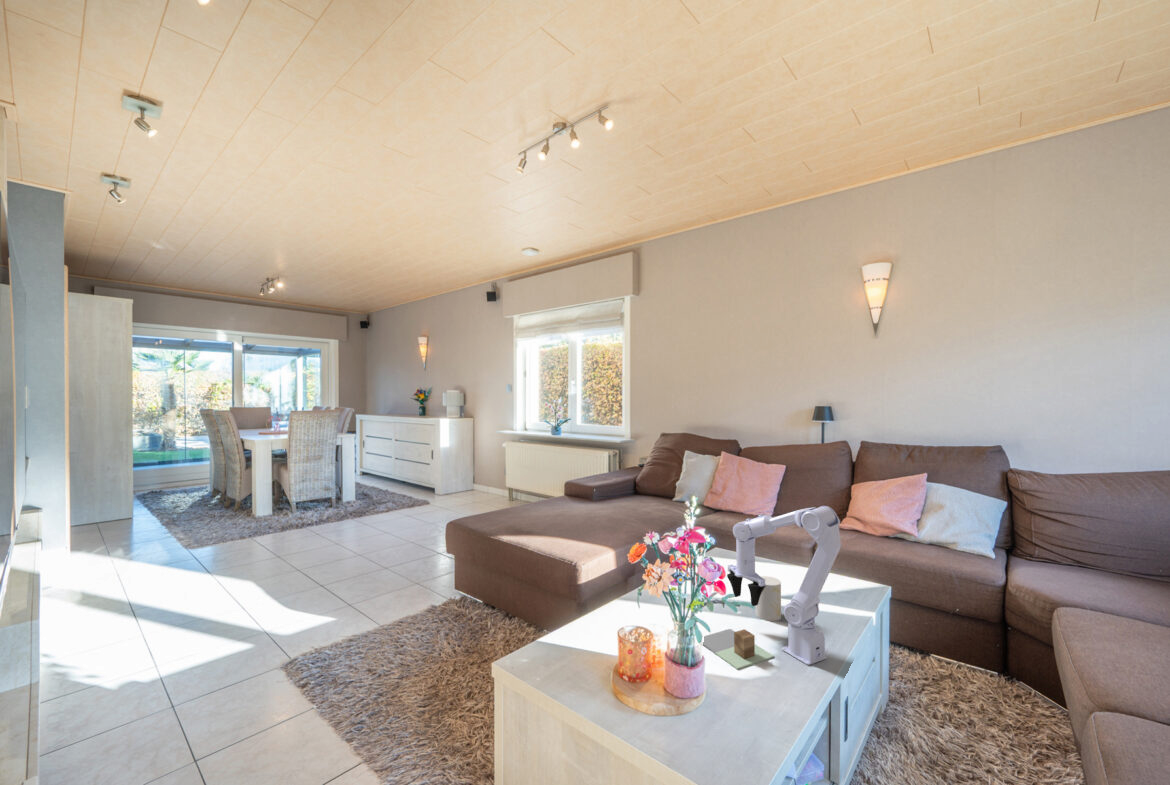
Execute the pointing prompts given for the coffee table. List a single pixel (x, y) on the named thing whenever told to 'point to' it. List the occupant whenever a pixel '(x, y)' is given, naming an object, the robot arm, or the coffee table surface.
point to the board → (732, 649)
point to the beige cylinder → (770, 600)
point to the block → (744, 644)
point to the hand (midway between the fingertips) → (745, 600)
